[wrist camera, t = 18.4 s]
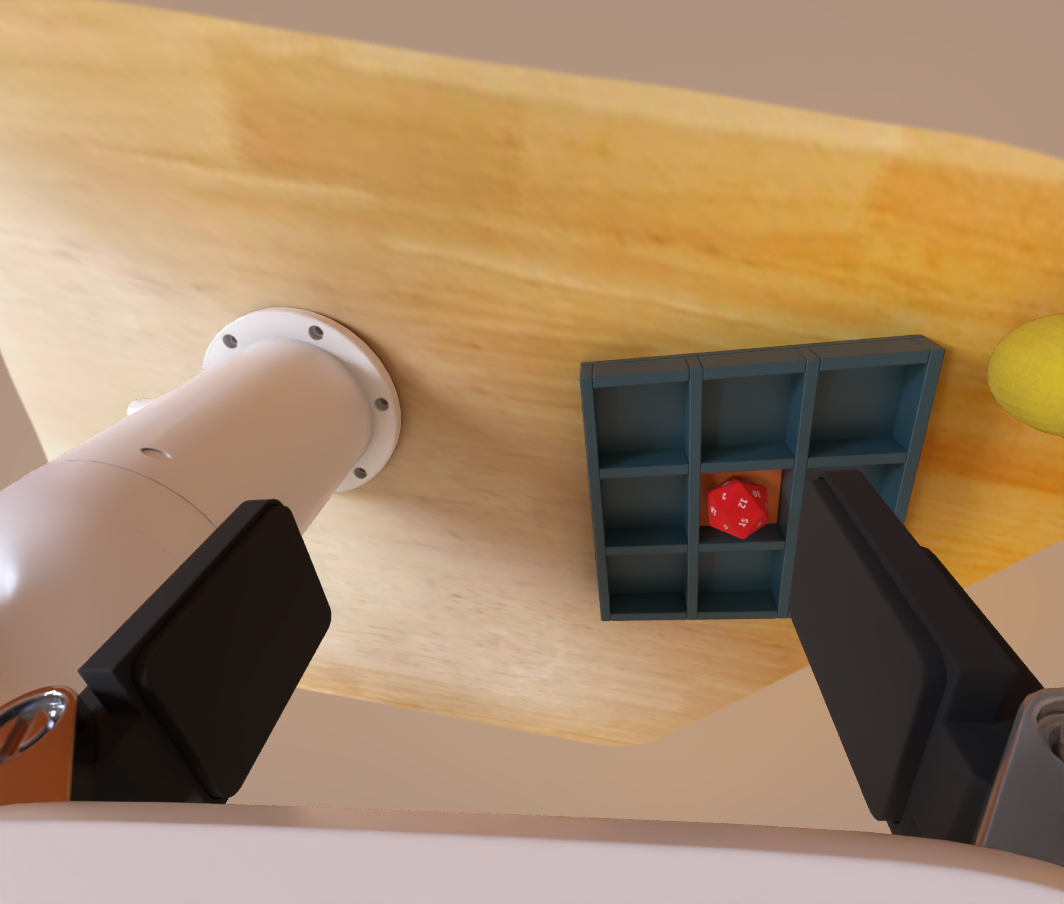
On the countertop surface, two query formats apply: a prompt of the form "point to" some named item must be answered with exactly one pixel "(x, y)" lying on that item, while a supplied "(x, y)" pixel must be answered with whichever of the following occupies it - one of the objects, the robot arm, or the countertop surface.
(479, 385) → the countertop surface
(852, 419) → the grid
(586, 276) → the countertop surface
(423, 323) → the countertop surface
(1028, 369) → the lemon
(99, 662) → the robot arm
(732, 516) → the die
